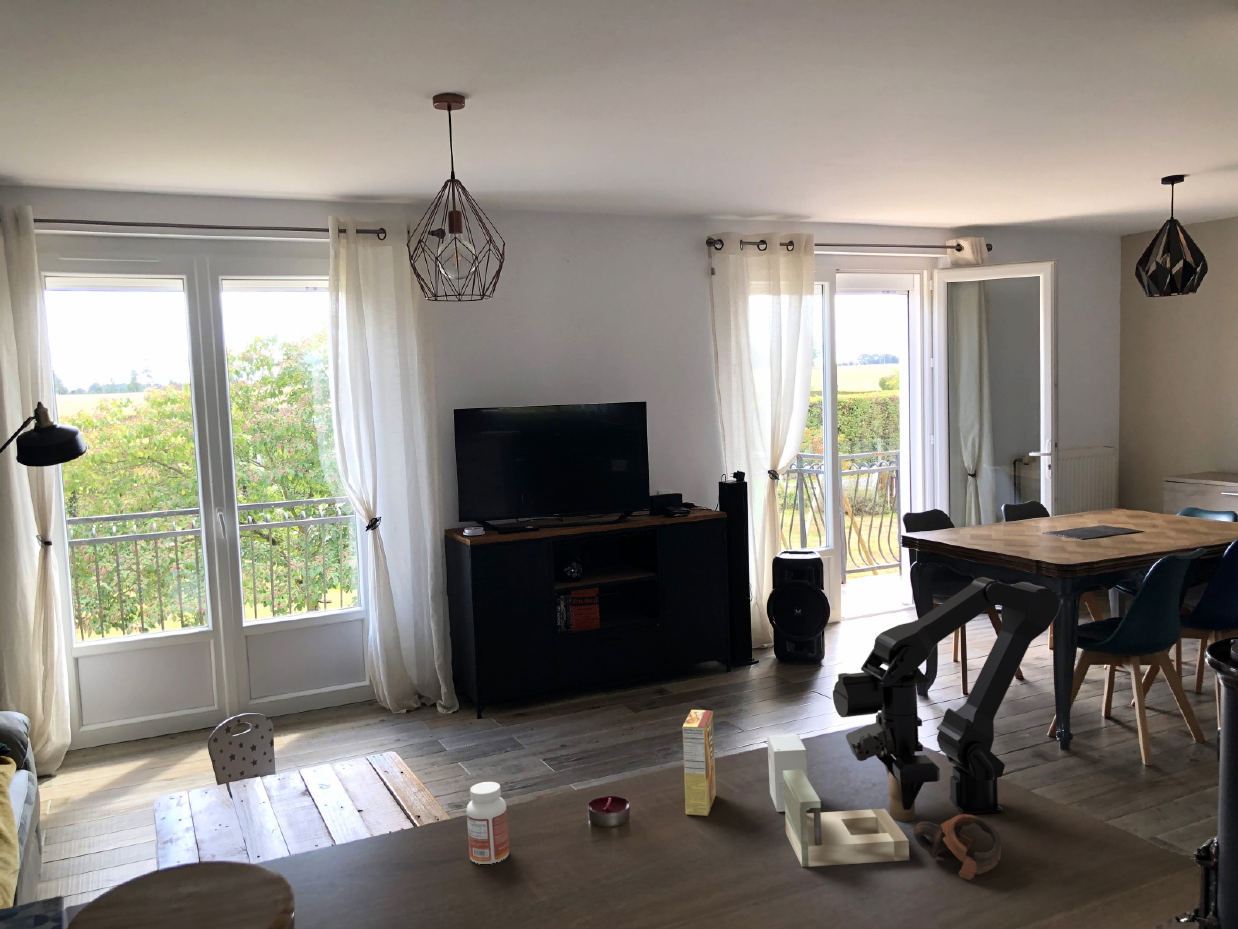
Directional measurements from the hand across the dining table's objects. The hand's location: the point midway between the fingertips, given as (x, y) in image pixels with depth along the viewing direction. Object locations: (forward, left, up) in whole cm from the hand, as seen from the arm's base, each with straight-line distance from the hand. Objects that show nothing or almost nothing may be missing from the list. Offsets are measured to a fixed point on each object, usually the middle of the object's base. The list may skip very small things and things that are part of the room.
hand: (902, 803), depth 151 cm
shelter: (+12, +9, -2) cm, 15 cm away
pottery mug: (-2, +17, -2) cm, 17 cm away
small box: (+17, -8, -2) cm, 19 cm away
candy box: (+32, -9, -2) cm, 33 cm away
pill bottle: (+67, +5, -2) cm, 67 cm away
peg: (0, 0, -2) cm, 2 cm away
